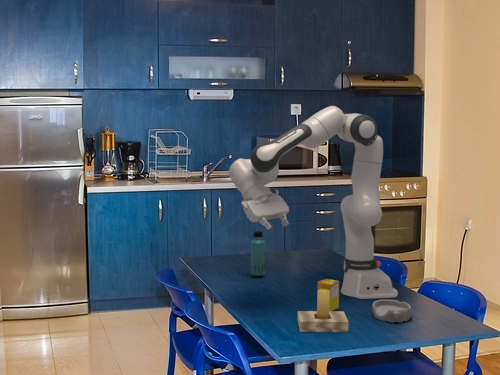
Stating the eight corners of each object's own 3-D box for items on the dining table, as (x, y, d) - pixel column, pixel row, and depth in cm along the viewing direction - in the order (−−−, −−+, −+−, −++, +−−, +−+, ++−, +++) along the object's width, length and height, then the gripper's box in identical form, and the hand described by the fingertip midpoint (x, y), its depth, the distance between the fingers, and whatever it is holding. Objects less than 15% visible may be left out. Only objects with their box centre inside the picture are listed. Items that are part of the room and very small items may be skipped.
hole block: (343, 321, 251) (343, 311, 250) (348, 332, 239) (348, 321, 238) (297, 320, 251) (297, 311, 250) (300, 331, 239) (300, 321, 238)
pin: (327, 323, 247) (329, 289, 245) (328, 327, 243) (330, 292, 241) (316, 323, 247) (317, 289, 245) (317, 326, 243) (318, 292, 241)
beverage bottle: (252, 279, 308) (252, 233, 306) (248, 275, 314) (248, 230, 312) (267, 278, 310) (267, 232, 307) (262, 274, 316) (263, 230, 314)
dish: (401, 326, 246) (402, 312, 245) (365, 319, 254) (365, 305, 253) (418, 316, 258) (418, 302, 257) (382, 309, 266) (383, 296, 265)
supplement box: (325, 306, 268) (325, 278, 266) (339, 310, 264) (339, 281, 263) (316, 310, 263) (316, 281, 262) (330, 313, 259) (330, 284, 258)
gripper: (244, 194, 253) (265, 225, 248) (279, 189, 268) (300, 217, 263) (234, 205, 256) (255, 236, 251) (269, 199, 272) (290, 228, 267)
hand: (278, 226), depth 257 cm, fingers open, 8 cm apart
